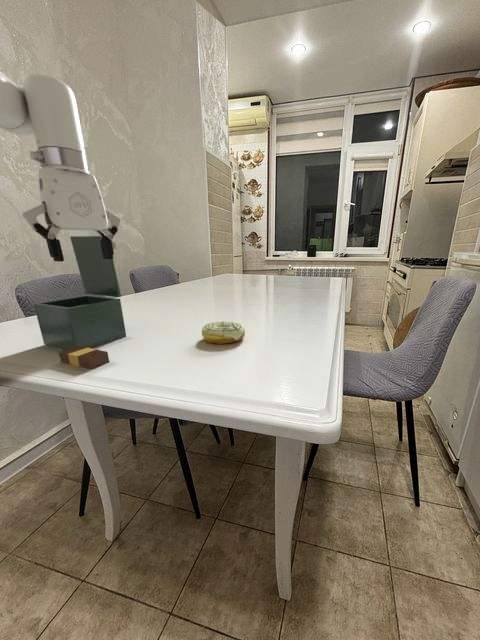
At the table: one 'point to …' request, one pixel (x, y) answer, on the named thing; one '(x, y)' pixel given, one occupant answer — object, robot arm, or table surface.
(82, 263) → the bin lid
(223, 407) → the table surface
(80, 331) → the bin
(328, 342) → the table surface
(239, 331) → the decorated donut
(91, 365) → the chocolate
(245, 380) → the table surface
